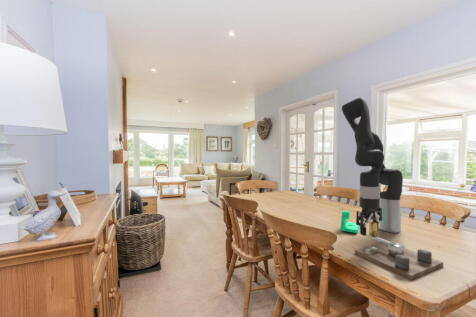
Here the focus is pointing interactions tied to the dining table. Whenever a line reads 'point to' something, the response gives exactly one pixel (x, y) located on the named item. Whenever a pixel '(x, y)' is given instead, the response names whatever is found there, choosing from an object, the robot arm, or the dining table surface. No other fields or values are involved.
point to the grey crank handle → (385, 241)
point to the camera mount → (348, 223)
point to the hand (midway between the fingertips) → (369, 232)
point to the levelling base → (391, 261)
